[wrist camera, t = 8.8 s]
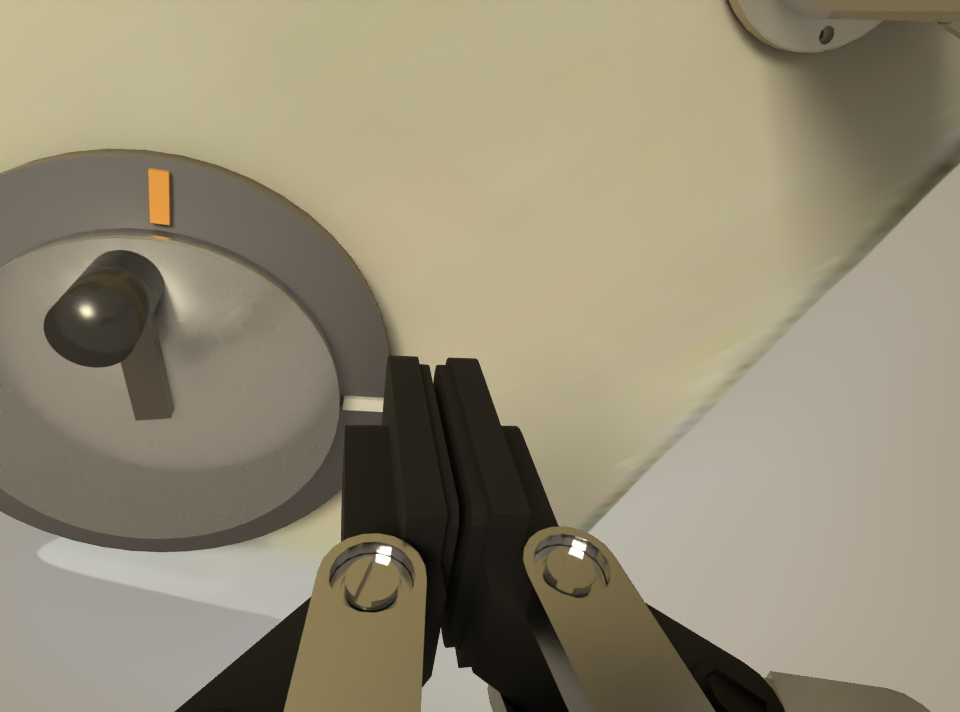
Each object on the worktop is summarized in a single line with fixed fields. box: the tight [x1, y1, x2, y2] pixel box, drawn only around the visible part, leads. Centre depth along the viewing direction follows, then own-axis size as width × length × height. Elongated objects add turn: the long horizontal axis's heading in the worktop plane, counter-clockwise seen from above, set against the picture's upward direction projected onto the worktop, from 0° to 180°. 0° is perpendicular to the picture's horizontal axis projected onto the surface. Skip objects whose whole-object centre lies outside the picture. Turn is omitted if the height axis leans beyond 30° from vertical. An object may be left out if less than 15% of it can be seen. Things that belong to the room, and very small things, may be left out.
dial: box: [0, 228, 340, 539], centre depth 28 cm, size 18×18×6 cm
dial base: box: [0, 149, 390, 552], centre depth 32 cm, size 24×24×2 cm
